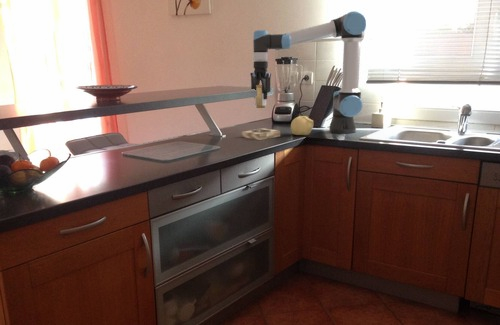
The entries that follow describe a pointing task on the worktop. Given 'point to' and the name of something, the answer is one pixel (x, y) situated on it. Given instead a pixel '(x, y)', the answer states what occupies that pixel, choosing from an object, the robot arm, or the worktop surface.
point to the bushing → (259, 96)
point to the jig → (260, 134)
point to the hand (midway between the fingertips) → (260, 105)
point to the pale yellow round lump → (301, 125)
